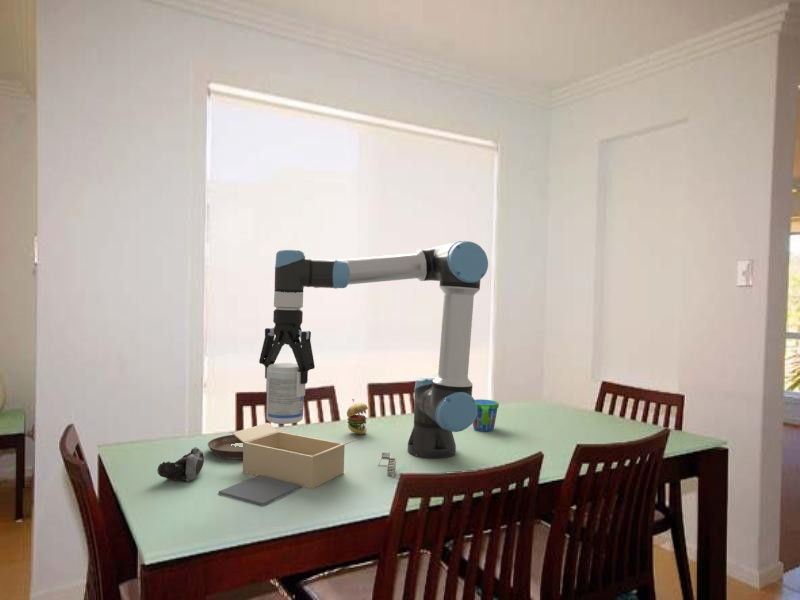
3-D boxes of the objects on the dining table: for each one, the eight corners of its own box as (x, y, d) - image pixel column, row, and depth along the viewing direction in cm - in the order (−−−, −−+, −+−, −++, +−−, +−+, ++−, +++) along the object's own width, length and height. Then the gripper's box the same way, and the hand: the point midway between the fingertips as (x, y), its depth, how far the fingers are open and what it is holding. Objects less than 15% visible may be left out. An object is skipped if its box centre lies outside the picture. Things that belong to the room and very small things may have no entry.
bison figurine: (204, 469, 154) (165, 469, 152) (206, 444, 154) (167, 443, 152) (197, 485, 142) (155, 485, 140) (199, 458, 142) (157, 457, 140)
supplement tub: (308, 423, 147) (310, 366, 146) (273, 426, 142) (275, 368, 141) (294, 415, 155) (296, 362, 155) (260, 418, 150) (262, 363, 150)
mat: (301, 487, 141) (301, 485, 141) (262, 505, 129) (262, 503, 129) (259, 477, 148) (259, 475, 148) (218, 493, 136) (218, 491, 136)
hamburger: (362, 437, 190) (363, 402, 190) (342, 434, 193) (343, 400, 192) (370, 431, 198) (371, 398, 197) (351, 429, 200) (352, 396, 200)
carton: (356, 475, 151) (357, 438, 151) (325, 491, 139) (326, 451, 139) (267, 456, 166) (267, 422, 166) (231, 469, 154) (232, 432, 154)
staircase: (381, 472, 156) (381, 452, 156) (395, 473, 156) (396, 453, 156) (377, 479, 150) (378, 459, 150) (392, 480, 150) (393, 460, 149)
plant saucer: (221, 441, 181) (221, 431, 181) (285, 444, 181) (285, 433, 181) (196, 461, 161) (196, 449, 161) (268, 464, 160) (268, 452, 160)
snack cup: (470, 423, 214) (471, 396, 214) (498, 425, 212) (499, 398, 212) (467, 433, 199) (468, 405, 199) (497, 436, 197) (498, 407, 197)
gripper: (331, 310, 145) (327, 396, 146) (266, 306, 156) (263, 386, 157) (312, 311, 139) (309, 401, 139) (246, 306, 150) (243, 390, 150)
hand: (285, 393), depth 148 cm, fingers closed on supplement tub, 10 cm apart
